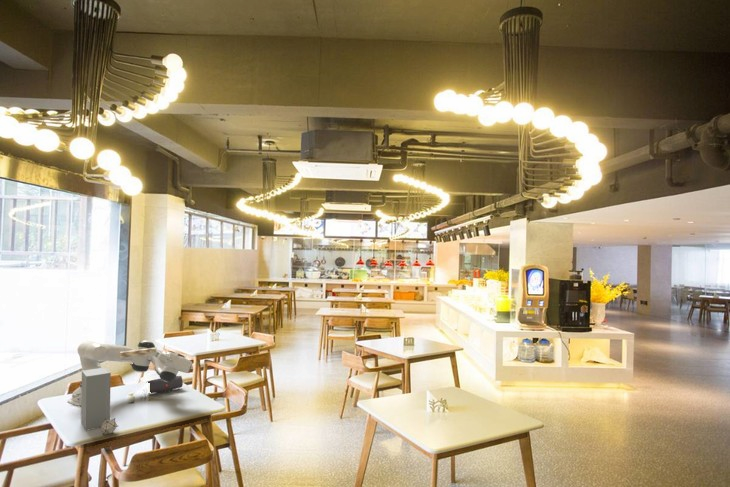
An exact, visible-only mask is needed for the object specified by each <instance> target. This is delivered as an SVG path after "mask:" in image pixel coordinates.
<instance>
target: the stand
mask: <svg viewBox="0 0 730 487" xmlns="http://www.w3.org/2000/svg"><path fill="white" fill-rule="evenodd" d="M111 376H112V374H111V372H110V371H109V370H108V368H106V367H101V368H97V369H90V370H83V371H82V370H81V381H82V393H81V406H80V409H81V410H80V422H81V425H82V426H83V428H84V430H85V431H90V430H95V429H98V428H100V429H101V427H99V426H101V425H102V424H103V423H104V421H105V419H106V420H111V381H112V380H111V378H112V377H111Z"/></svg>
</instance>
